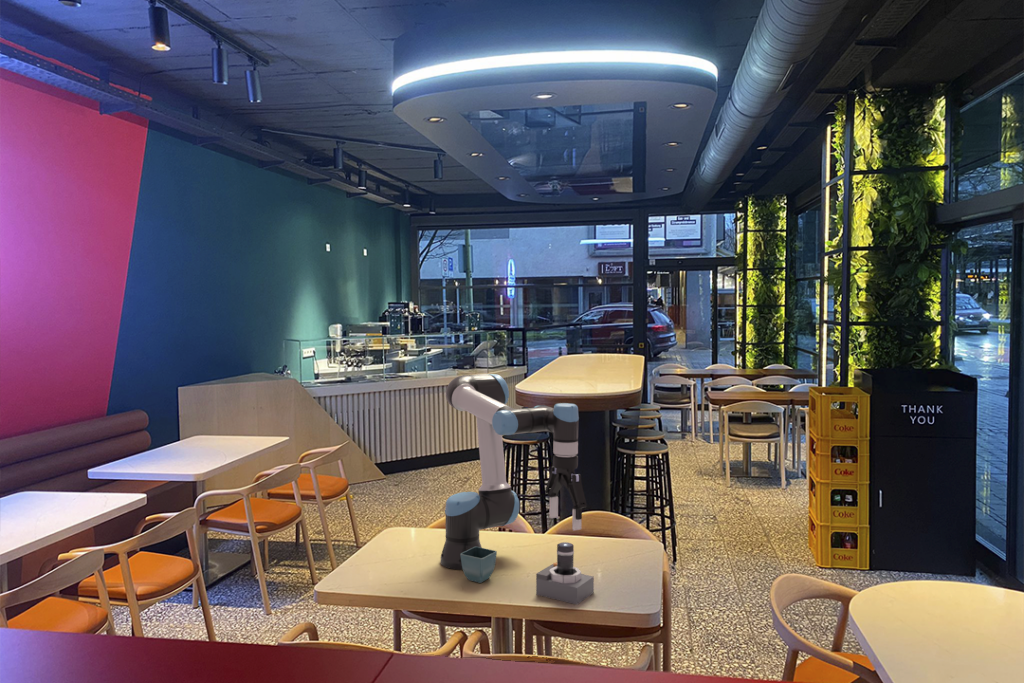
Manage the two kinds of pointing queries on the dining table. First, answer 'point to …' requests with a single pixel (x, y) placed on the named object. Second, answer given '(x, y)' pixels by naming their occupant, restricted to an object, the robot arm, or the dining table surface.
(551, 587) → the camera body
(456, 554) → the robot arm
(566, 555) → the lens
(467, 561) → the flower pot
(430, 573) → the dining table surface
